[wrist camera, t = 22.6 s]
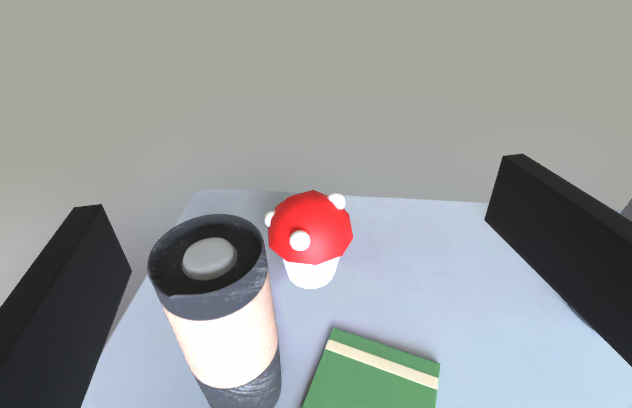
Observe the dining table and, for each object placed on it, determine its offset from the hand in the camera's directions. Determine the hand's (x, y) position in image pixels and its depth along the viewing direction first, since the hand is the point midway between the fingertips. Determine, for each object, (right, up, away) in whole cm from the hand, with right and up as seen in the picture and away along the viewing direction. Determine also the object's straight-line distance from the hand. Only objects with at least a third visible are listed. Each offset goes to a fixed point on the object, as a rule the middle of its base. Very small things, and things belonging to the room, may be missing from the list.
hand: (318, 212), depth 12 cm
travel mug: (-7, -19, +23) cm, 31 cm away
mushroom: (-1, -9, +36) cm, 37 cm away
